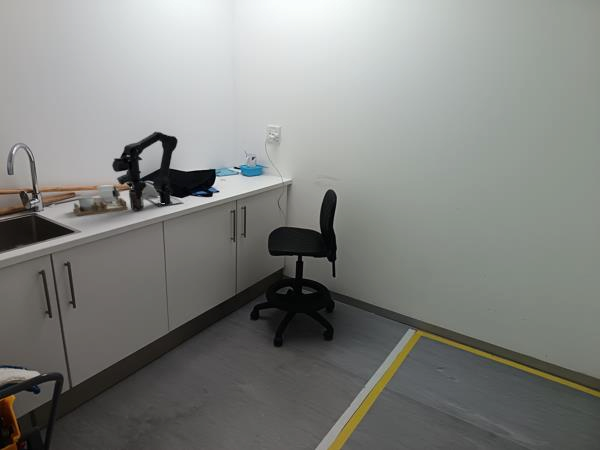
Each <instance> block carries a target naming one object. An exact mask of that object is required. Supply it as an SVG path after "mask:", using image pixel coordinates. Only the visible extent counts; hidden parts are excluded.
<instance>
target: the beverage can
mask: <svg viewBox="0 0 600 450" xmlns="http://www.w3.org/2000/svg"><path fill="white" fill-rule="evenodd" d="M143 194H144V193H143V192H142V194H141V197H140V199H137V196H136V192H135V190H134V189H133V188H132V187H129V189H128V197H129V205H130V209H131V210H133V211H141V210H143V209H144V207H145V206H144V205H145V204H144V203H145V201H144V195H143Z"/></svg>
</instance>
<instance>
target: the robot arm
mask: <svg viewBox="0 0 600 450" xmlns="http://www.w3.org/2000/svg"><path fill="white" fill-rule="evenodd" d="M157 142H161V147H162V157H161V162H160V168H159V173H158V175H157V177H156V176H154V178H153V182H154V183H153V184H154V188H155V189H156V191H157V192H159V193H160V198H159V201H160V202H161V203H165V204H164V205H167V204H166V203H171V204H174V202H173V201H171V195H172V194H173V193H174V189H173V188H172V187H171V185H170V179H169V172H170V166H171V162H172V161H171V160H172V156H173V152H174V151H175V150H176V148H177V146H178V139H177V137H176V136H174V135H168V134H164V133H163V132H161V131H160V132H159V131H154V132H153V133H151V134H150V135H148V136H147V137H145V138H143V139H141V140H139V141H137V142H133V143H129V144H127V145H125V146H124V149H123V152H122V153H121V155H120V156H119V158H117V157H116V158H114V159H113V161H112V164H111V166H112V169H113V171H114V172H115V173H118V172H125V171H126V173H125V174H122V175H120V176H118V177H117V178H116V180H117V182H118V183H119V185H121V186H123V185H125V184H126V185H127V186H128V187H129V188H130V187H132V188H133V189H134V190H135V192H136V196H137V199H140V197H141V194H142V192H143V190H144V188H145V187H146V183H145V181H143V180H142V177H141V173H142V172H141V170H140V161H143V158H142V157H140V155H141V154H142V153H143V151H144V150H146V149H147V148H148V147H150V146H152V145H153V144H156V143H157Z"/></svg>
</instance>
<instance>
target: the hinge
mask: <svg viewBox="0 0 600 450" xmlns="http://www.w3.org/2000/svg"><path fill="white" fill-rule="evenodd" d="M144 182H145V183H146V187H145V188H144V190H143V194H145V195H148V194H149V195H148V196H151V195H153V196H152V197H155V196H160V193H159V192H157V191H156V189H155V188H154V184H153V183H154V181H151V180H145V181H144Z"/></svg>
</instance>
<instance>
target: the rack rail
mask: <svg viewBox="0 0 600 450" xmlns="http://www.w3.org/2000/svg"><path fill="white" fill-rule="evenodd" d="M118 198H119V202H120V204H119V203H117V204H116V203H115V202H114V203H109V204H107V203H106V201H103V200H102V199H101V200H99V203H98V202H97V201H96V200H94V197H91V196H90V197H89V196H86V197H85V196H83V197H80V198H79V199H78V201H79V202H78V203H75V202H74V203H73V206H74V207H73V209H72V211H73V213H74V214H75V216H76V217H77V216H78V217H82V216H83V217H84V215H85V216H91V215H99V214H105V213H112V212H118V211H119V212H120V211H125V210H126V211H127V210H129V207H128V206H127V201H126V200H125V199H123V198H122V197H118ZM78 204H79V205H78Z"/></svg>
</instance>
